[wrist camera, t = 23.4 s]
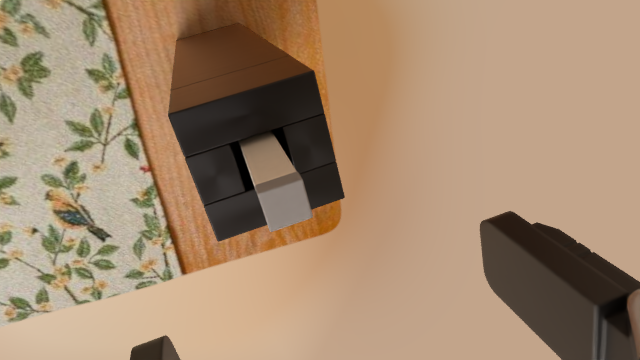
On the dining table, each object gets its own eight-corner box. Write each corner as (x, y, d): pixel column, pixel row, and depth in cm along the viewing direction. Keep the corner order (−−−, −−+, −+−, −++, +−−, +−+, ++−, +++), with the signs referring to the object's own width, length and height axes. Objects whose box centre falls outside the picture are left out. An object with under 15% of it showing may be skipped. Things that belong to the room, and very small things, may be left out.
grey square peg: (239, 147, 26) (270, 232, 17) (230, 119, 25) (257, 193, 16) (268, 138, 26) (313, 218, 17) (259, 110, 25) (302, 178, 16)
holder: (198, 102, 49) (217, 242, 22) (176, 40, 46) (167, 114, 19) (257, 84, 50) (345, 198, 23) (239, 22, 47) (314, 70, 20)
